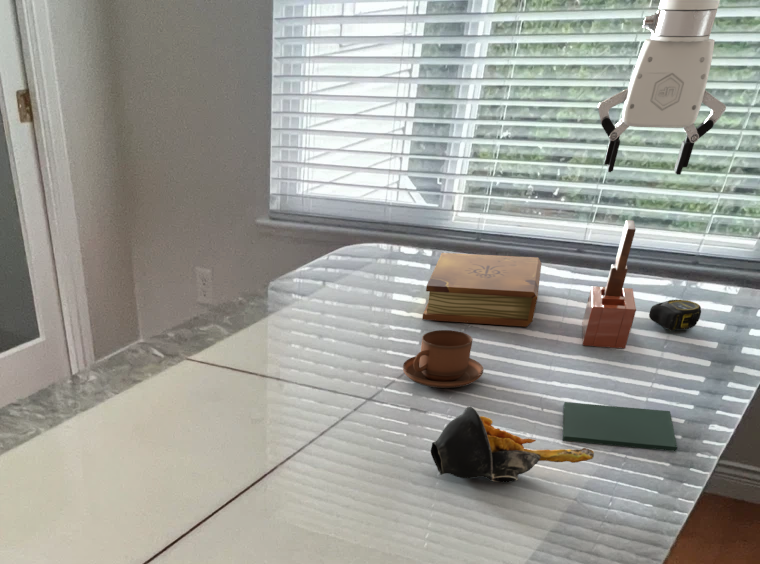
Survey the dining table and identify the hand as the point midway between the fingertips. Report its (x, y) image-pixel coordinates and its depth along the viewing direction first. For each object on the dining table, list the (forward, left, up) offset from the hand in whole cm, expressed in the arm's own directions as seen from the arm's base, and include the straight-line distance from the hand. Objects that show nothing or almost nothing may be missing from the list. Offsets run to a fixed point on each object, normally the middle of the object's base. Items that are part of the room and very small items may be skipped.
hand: (643, 171), depth 128 cm
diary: (+21, -10, -23) cm, 33 cm away
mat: (-1, +41, -23) cm, 47 cm away
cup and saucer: (+24, +29, -23) cm, 44 cm away
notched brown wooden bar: (0, 0, -23) cm, 23 cm away
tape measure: (-11, -4, -23) cm, 26 cm away
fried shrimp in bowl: (+13, +60, -23) cm, 65 cm away
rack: (0, +3, -23) cm, 23 cm away
